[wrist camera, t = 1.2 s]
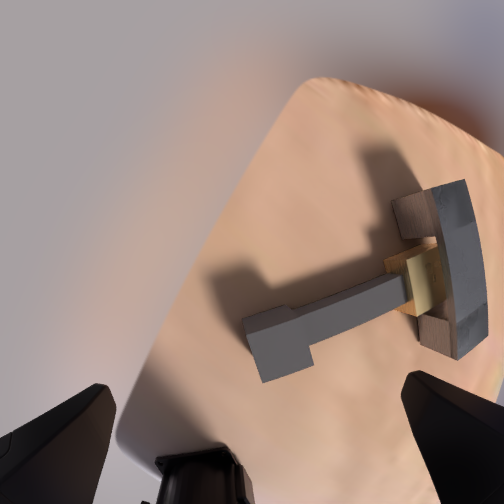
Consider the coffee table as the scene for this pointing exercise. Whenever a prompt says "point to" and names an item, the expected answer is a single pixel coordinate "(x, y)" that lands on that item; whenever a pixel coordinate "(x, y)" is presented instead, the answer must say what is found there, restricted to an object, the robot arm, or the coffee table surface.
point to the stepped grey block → (316, 324)
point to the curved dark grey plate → (449, 266)
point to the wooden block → (419, 277)
